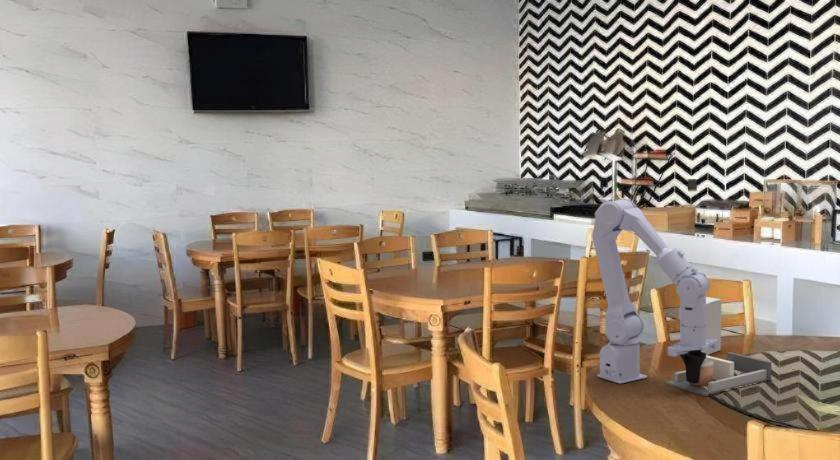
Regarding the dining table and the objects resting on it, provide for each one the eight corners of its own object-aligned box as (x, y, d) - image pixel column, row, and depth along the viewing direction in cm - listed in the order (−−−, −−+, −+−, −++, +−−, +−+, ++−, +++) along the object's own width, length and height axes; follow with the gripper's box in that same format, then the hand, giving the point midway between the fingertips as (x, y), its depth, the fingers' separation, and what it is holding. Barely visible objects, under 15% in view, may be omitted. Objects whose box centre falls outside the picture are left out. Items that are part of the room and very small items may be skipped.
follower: (729, 383, 187) (729, 363, 187) (702, 376, 194) (702, 356, 194) (733, 382, 188) (734, 362, 188) (706, 375, 195) (706, 355, 194)
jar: (700, 387, 185) (701, 363, 185) (685, 381, 190) (686, 359, 189) (716, 385, 187) (717, 362, 187) (701, 380, 192) (702, 357, 191)
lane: (706, 396, 180) (706, 377, 180) (665, 384, 191) (665, 365, 190) (772, 379, 192) (772, 361, 192) (730, 369, 202) (731, 351, 202)
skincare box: (702, 347, 226) (702, 295, 224) (722, 351, 221) (722, 298, 220) (686, 352, 220) (686, 299, 219) (705, 356, 216) (706, 302, 214)
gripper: (684, 331, 178) (684, 391, 179) (728, 323, 185) (728, 380, 187) (660, 326, 184) (660, 384, 186) (703, 319, 192) (703, 374, 193)
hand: (692, 382), depth 186 cm, fingers closed, pressing on jar
